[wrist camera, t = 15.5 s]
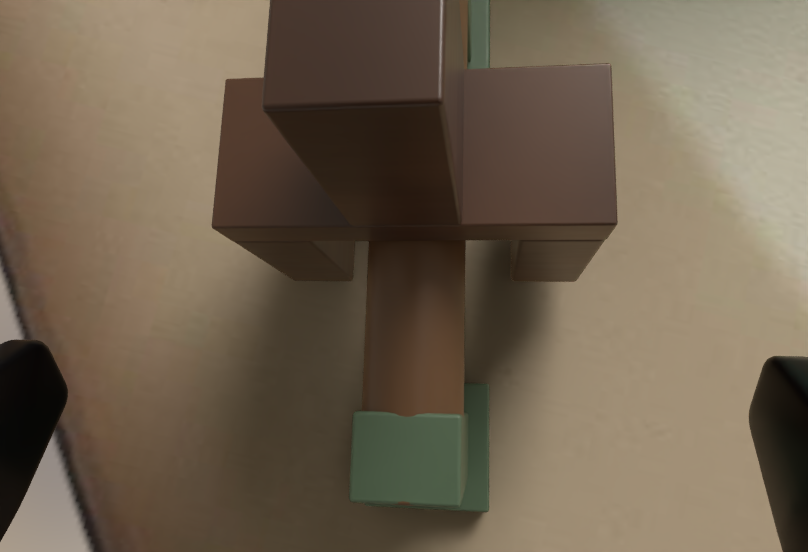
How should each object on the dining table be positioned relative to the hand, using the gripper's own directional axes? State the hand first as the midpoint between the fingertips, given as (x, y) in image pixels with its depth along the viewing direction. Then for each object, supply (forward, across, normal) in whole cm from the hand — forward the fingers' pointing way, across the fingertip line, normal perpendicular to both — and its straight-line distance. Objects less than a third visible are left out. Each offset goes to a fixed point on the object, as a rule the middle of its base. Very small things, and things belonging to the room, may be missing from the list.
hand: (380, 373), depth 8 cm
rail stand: (+9, 0, +3) cm, 10 cm away
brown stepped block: (+8, 0, +2) cm, 9 cm away
